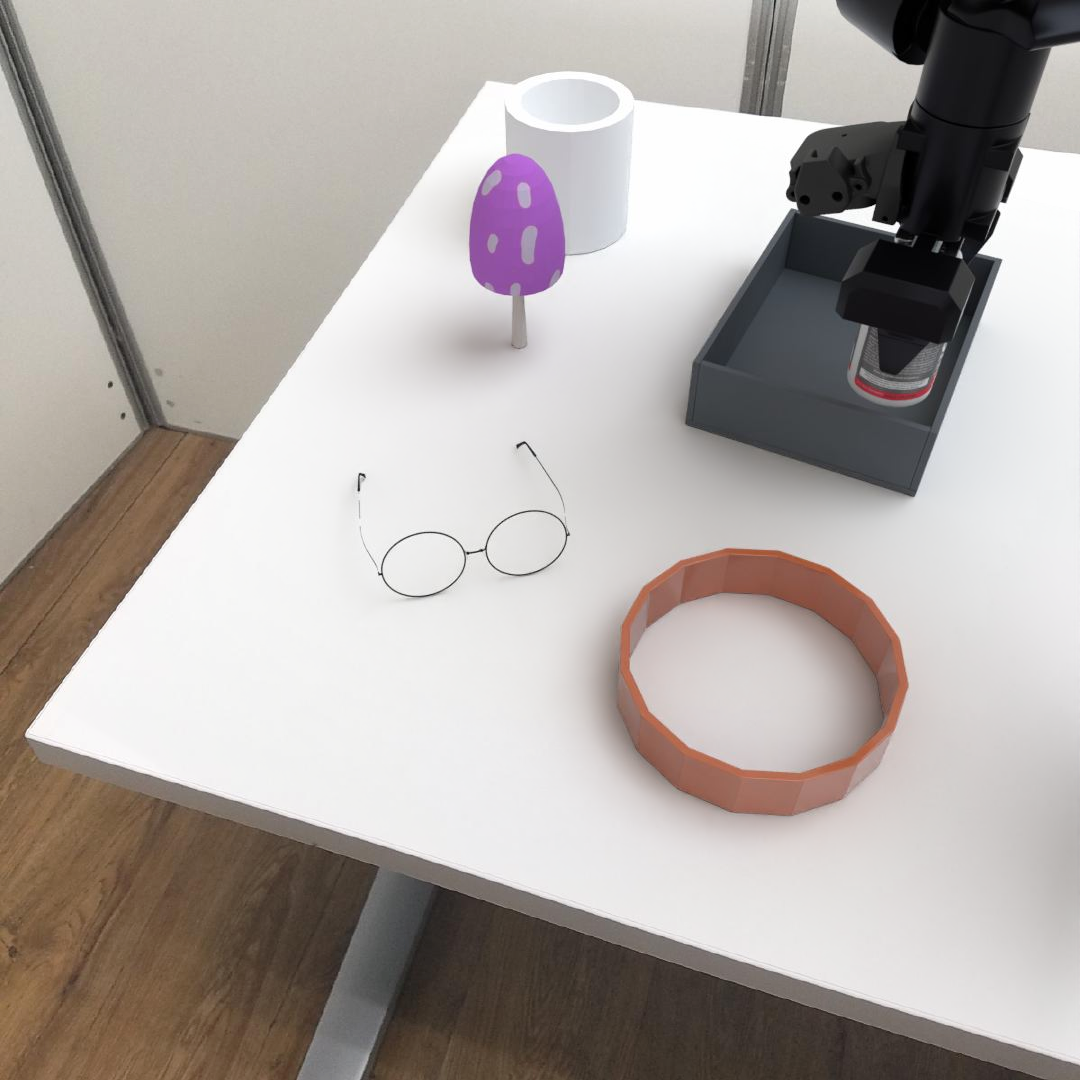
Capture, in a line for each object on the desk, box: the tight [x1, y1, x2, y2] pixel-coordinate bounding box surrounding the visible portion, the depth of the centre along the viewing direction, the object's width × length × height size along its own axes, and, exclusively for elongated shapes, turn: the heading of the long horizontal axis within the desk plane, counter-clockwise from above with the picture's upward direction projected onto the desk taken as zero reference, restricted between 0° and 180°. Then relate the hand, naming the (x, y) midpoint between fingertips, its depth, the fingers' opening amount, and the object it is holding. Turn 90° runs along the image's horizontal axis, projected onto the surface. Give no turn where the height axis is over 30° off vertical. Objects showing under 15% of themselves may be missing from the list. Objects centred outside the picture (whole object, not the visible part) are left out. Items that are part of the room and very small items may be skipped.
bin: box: [684, 207, 1003, 497], centre depth 76 cm, size 16×21×6 cm
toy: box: [468, 154, 566, 349], centre depth 75 cm, size 7×7×15 cm
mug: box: [504, 70, 635, 256], centre depth 89 cm, size 14×10×11 cm
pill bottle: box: [847, 236, 962, 408], centre depth 65 cm, size 5×5×10 cm
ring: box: [616, 547, 910, 816], centre depth 58 cm, size 15×15×4 cm
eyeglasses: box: [356, 440, 571, 598], centre depth 66 cm, size 11×13×5 cm
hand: (900, 346), depth 67 cm, fingers closed on pill bottle, 5 cm apart
